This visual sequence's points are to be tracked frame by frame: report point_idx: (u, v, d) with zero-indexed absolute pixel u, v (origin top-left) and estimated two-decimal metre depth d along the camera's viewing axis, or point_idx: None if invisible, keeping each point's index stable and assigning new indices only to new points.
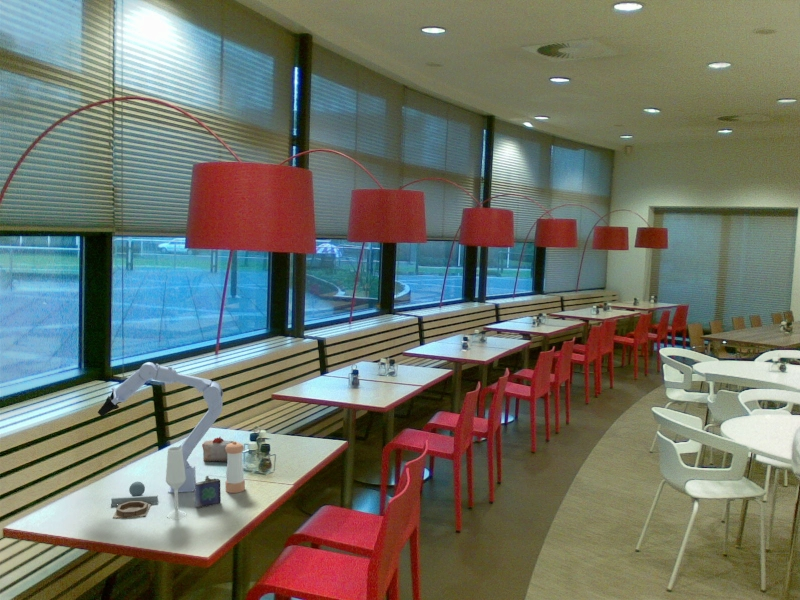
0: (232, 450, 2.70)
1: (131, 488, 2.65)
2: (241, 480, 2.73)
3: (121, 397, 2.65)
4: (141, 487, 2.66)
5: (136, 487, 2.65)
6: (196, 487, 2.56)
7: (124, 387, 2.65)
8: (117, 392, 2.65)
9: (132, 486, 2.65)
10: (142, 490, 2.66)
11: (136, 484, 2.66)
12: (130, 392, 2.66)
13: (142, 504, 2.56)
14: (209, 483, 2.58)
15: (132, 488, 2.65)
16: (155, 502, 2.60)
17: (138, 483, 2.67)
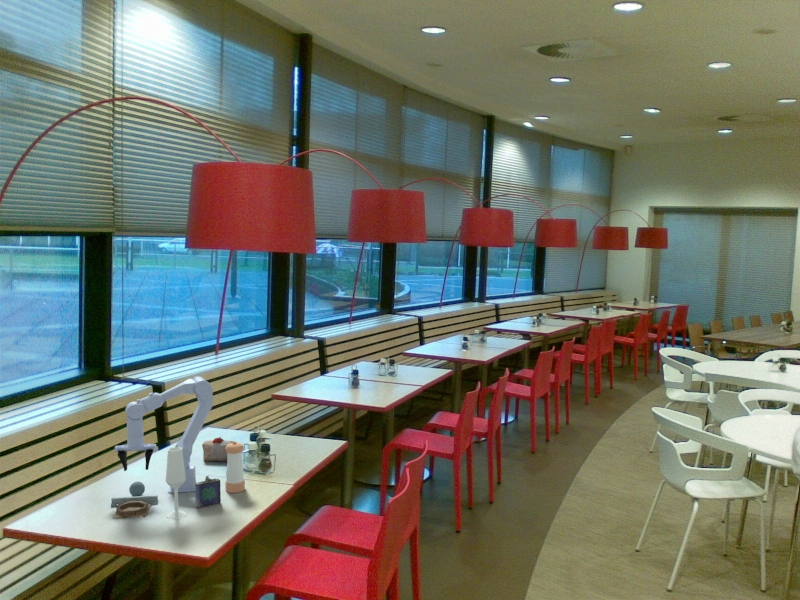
0: (232, 450, 2.70)
1: (131, 488, 2.65)
2: (241, 480, 2.73)
3: (143, 443, 2.67)
4: (141, 487, 2.66)
5: (136, 487, 2.65)
6: (196, 487, 2.56)
7: (141, 436, 2.65)
8: (141, 445, 2.65)
9: (132, 486, 2.65)
10: (142, 490, 2.66)
11: (136, 484, 2.66)
12: None
13: (142, 504, 2.56)
14: (209, 483, 2.58)
15: (132, 488, 2.65)
16: (155, 502, 2.60)
17: (138, 483, 2.67)
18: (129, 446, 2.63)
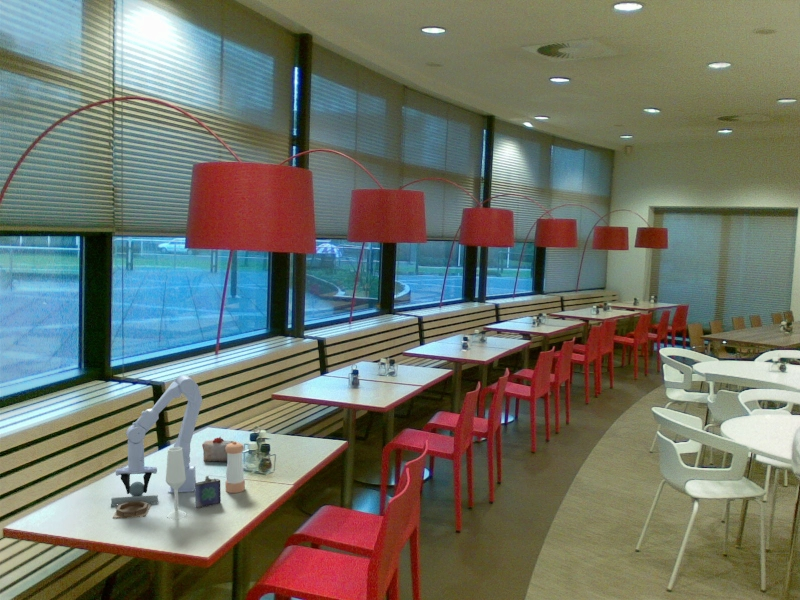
0: (232, 450, 2.70)
1: (131, 488, 2.65)
2: (241, 480, 2.73)
3: None
4: (141, 487, 2.66)
5: (136, 487, 2.65)
6: (196, 487, 2.56)
7: (142, 460, 2.66)
8: (142, 468, 2.66)
9: (132, 486, 2.65)
10: (142, 490, 2.66)
11: (136, 484, 2.66)
12: None
13: (142, 504, 2.56)
14: (209, 483, 2.58)
15: (132, 488, 2.65)
16: (155, 502, 2.60)
17: (138, 483, 2.67)
18: (130, 469, 2.64)
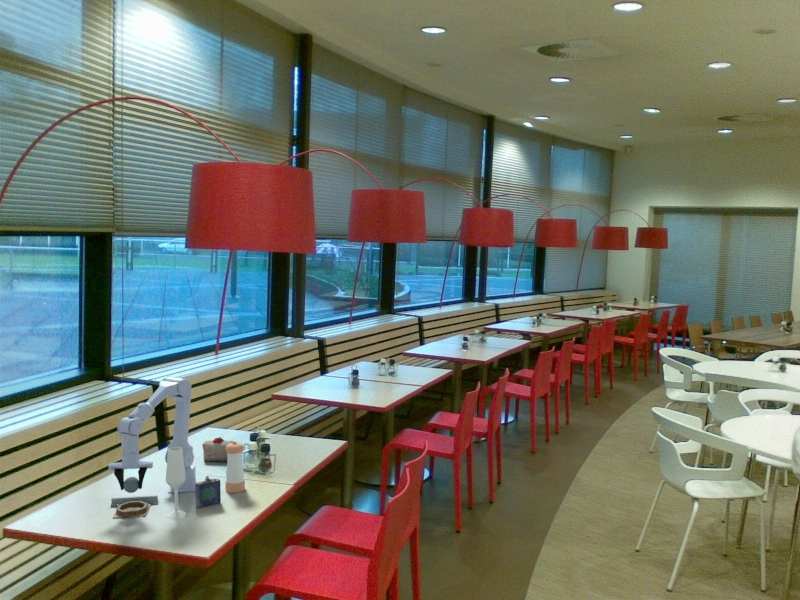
0: (232, 450, 2.70)
1: (125, 484, 2.50)
2: (241, 480, 2.73)
3: (139, 461, 2.53)
4: (136, 483, 2.51)
5: (130, 483, 2.50)
6: (196, 487, 2.56)
7: (137, 454, 2.50)
8: (136, 463, 2.50)
9: (126, 482, 2.50)
10: (137, 486, 2.51)
11: (130, 479, 2.51)
12: None
13: (142, 504, 2.56)
14: (209, 483, 2.58)
15: (126, 484, 2.50)
16: (155, 502, 2.60)
17: (133, 478, 2.51)
18: (124, 464, 2.49)
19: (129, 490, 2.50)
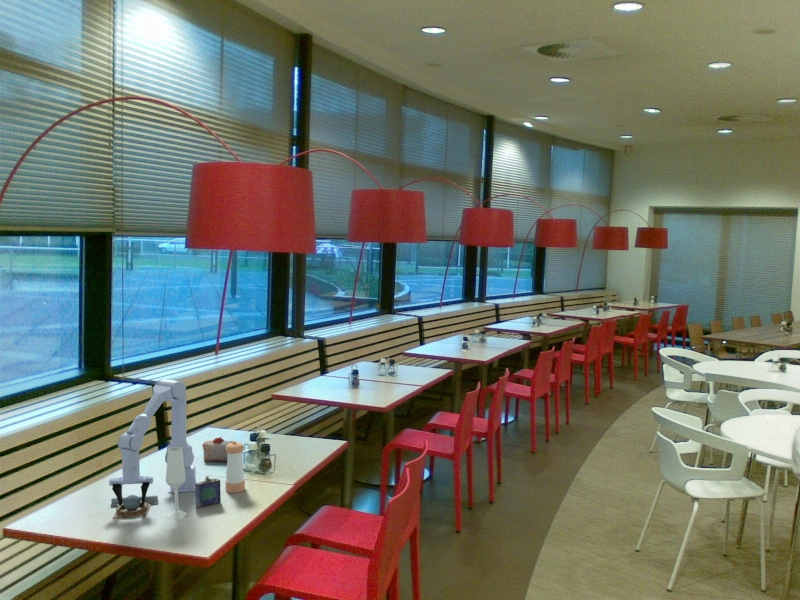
0: (232, 450, 2.70)
1: (125, 502, 2.51)
2: (241, 480, 2.73)
3: (139, 476, 2.53)
4: (137, 501, 2.52)
5: (131, 501, 2.51)
6: (196, 487, 2.56)
7: (137, 469, 2.51)
8: (137, 478, 2.51)
9: (127, 500, 2.51)
10: (137, 504, 2.52)
11: (131, 498, 2.51)
12: None
13: (142, 504, 2.56)
14: (209, 483, 2.58)
15: (127, 502, 2.50)
16: (155, 502, 2.60)
17: (133, 497, 2.52)
18: (124, 479, 2.50)
19: (130, 508, 2.51)
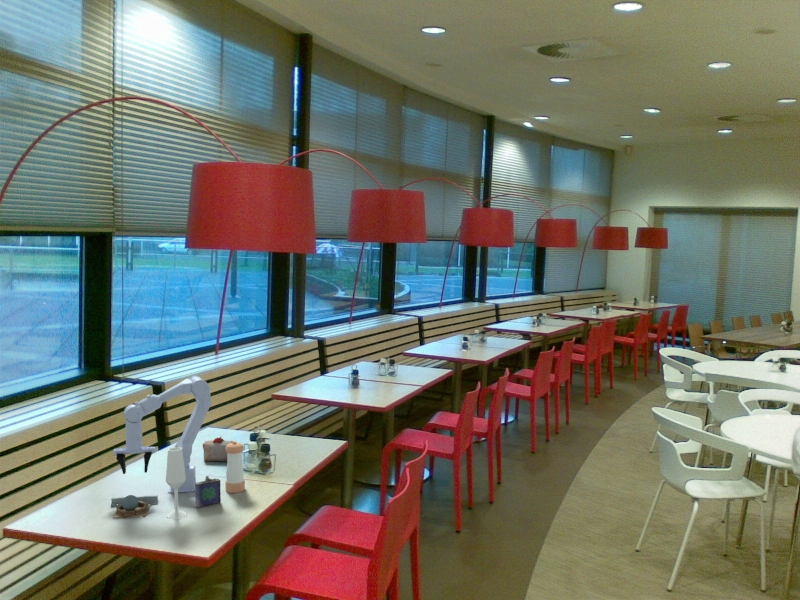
0: (232, 450, 2.70)
1: (123, 503, 2.51)
2: (241, 480, 2.73)
3: (142, 446, 2.67)
4: (134, 500, 2.51)
5: (128, 501, 2.50)
6: (196, 487, 2.56)
7: (140, 439, 2.64)
8: (140, 448, 2.64)
9: (124, 501, 2.51)
10: (135, 503, 2.52)
11: (127, 498, 2.51)
12: None
13: (142, 504, 2.56)
14: (209, 483, 2.58)
15: (125, 503, 2.50)
16: (155, 502, 2.60)
17: (129, 496, 2.52)
18: (128, 449, 2.63)
19: (129, 508, 2.51)
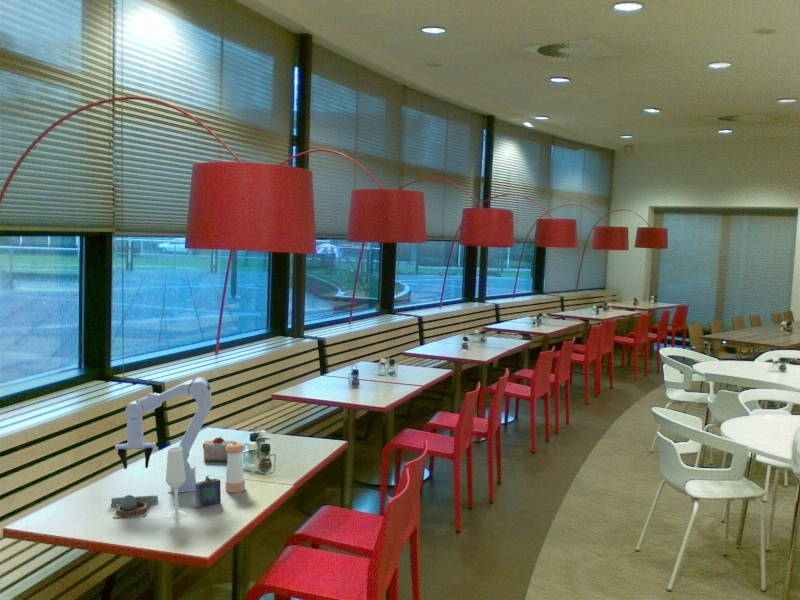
0: (232, 450, 2.70)
1: (121, 504, 2.51)
2: (241, 480, 2.73)
3: (143, 442, 2.72)
4: (131, 499, 2.51)
5: (125, 501, 2.50)
6: (196, 487, 2.56)
7: (141, 435, 2.69)
8: (141, 443, 2.69)
9: (121, 502, 2.51)
10: (133, 502, 2.52)
11: (124, 498, 2.51)
12: None
13: (142, 504, 2.56)
14: (209, 483, 2.58)
15: (123, 504, 2.50)
16: (155, 502, 2.60)
17: (126, 497, 2.52)
18: (129, 445, 2.68)
19: (128, 508, 2.51)
